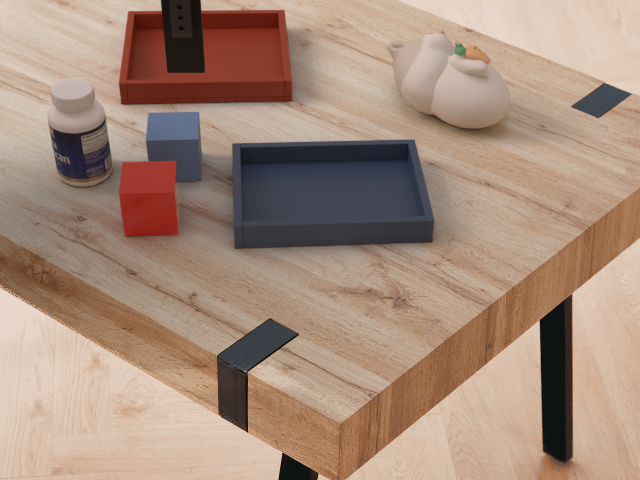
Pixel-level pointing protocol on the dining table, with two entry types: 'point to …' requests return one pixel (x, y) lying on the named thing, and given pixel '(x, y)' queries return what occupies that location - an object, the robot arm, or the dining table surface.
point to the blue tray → (329, 194)
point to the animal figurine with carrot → (449, 81)
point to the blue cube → (176, 142)
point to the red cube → (149, 198)
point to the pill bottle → (79, 133)
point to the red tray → (209, 60)
